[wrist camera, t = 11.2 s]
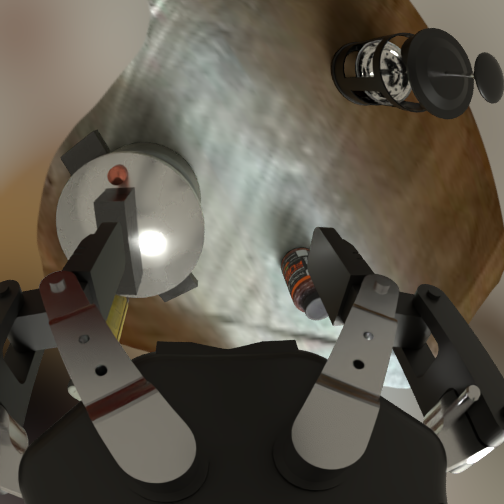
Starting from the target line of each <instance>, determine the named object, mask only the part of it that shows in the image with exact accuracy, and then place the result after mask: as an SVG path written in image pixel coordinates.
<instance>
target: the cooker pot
mask: <svg viewBox="0 0 504 504" xmlns="http://www.w3.org/2000/svg"><path fill="white" fill-rule="evenodd" d="M118 151H135V152H141V153H145V154H149V155H152V156H155V157H157V158H159V159H161V160H163V161H165V162H166V163H168V164H170V165H171V166H173V167H174V168H175V169H176V170H177V171H179V172H180V173H181V174H182V175H183V176H184V178H185V179H186V180H187V181H188V182H189V184H190V185H191V187H192V188H193V189H194V191H195V193H196V195H197V197H198V199H199V202H200V205H201V193H200V188H199V184H198V181H197V178H196V176H195V174H194V172H193V170H192V169H191V167H190V166H189V164H188V163H187V162H186V161H185V160H184V159H183V158H182V157H181V156H180V155H179V154H177V153H176V152H174V151H173V150H171V149H169V148H167V147H165V146H162V145H159V144H154V143H146V142H140V143H132V144H129V145H125V146H123V147H120V148H118V149H117V150H115V151H113V152H118ZM108 153H110V150H109V148H108V147H107V145H106V143H105V142H104V140H103V138H102V137H101V135H100V133H99V132H98V130H95V131H93V132H92V133H90V134H89V135H88V136H86V137H85V138H84V139H83V140H81V141H80V142H79V143H78V144H76V145H75V146H74V147H73V148H71V149H70V150H69V151H68V152H67V153H65V154H64V155H63V156H62V157H61V160H62V161H63V163H64V165H65V166H66V168H67V169H68V171H69V173H70V174H71V176H72V175H73V174H74V173H75V172H76V171H77V170H79V169H80V168H81V167H82V166H84V165H85V164H87V163H88V162H90V161H91V160H93V159H95V158H97V157H99V156H101V155H104V154H108ZM196 287H198V281H197V279H196V278H195V277H194V275H193V274H192V273H190V274H189V275H188V276H187V277H186V278H185V279H184V280H183V281H182V282H181V283H180V284H178V285H177V286H175V287H174V288H172V289H170V290H168V291H166V292H164V293H161V294H158V295H159V296H160V297H161V298H162V299H163V301H164V302H167V301H169V300H171V299H173V298H175V297H177V296H179V295H181V294H183V293H185V292H187V291H189V290H191V289H194V288H196Z"/></svg>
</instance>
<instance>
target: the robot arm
mask: <svg viewBox="0 0 504 504" xmlns="http://www.w3.org/2000/svg"><path fill="white" fill-rule="evenodd" d="M307 269H308V273H309V275H310V277H311V280H312V282H313V284H314V286H315V288H316V290H317V292H318V294H319V296H320V299H321V301H322V303H323V305H324V307H325V309H326V312H327V314H328V316H329V318H330V320H331V323H332V325H333V326H338V325H344V326H343V329H342V331H341V333H340V335H339V337H338V339H337V342H336V344H335V346H334V348H333V350H332V352H331V354H330V356H329V358H328V359H326V358H324V357H322V356H319V355H317V354H314V353H311V352H308V351H303V350H298V347H297V344H296V341H295V340H283V341H262V342H258V343H254V344H250V345H246V346H241V347H237V348H233V349H222V348H217V347H212V346H207V345H202V344H197V343H192V342H161V341H157V346H156V352H151V353H148V354H144V355H141V356H139V357H136V358H134V359H132V360H131V359H130V358H129V356H128V355H127V354H126V352H125V351H124V349H123V348H122V346H121V345H120V343H119V342H118V340H117V339H116V337H115V336H114V334H113V333H112V331H111V329H110V328H109V326H108V325H107V323H106V321H107V318H108V315H109V312H110V309H111V306H112V303H113V300H114V297H115V294H116V292H117V289H118V286H119V283H120V281H121V278H122V275H123V273H124V270H125V251H124V243H123V235H122V227H121V224H120V222H102V223H101V225H100V226H99V227H98V229H97V230H96V232H95V233H94V234H90V235H88V236H87V237H85V238H84V239H83V240H82V241H81V242H80V244H79V245H78V246H77V249H75V251H74V252H73V254H72V256H71V257H70V259H69V260H68V262H67V263H66V265H65V266H64V268H63V270H62V271H57V272H53V273H51V274H49V275H47V276H46V277H45V278H44V279H43V280H42V281H41V283H40V285H39V289H35V290H29V291H23V292H22V291H21V288H20V285H19V283H18V282H17V281H14V280H6V281H3V282H0V495H3V494H6V493H11V494H13V495H16V496H19V497H21V498H23V500H24V503H25V504H447V497H446V473H447V472H448V471H449V472H451V473H460V472H462V471H464V470H465V469H467V468H468V467H470V466H471V465H473V464H474V463H476V462H477V461H479V460H480V459H482V458H483V457H484V456H486V455H487V454H488V453H490V452H491V451H492V450H494V449H495V448H496V447H498V446H499V445H500V444H501V443H503V442H504V378H503V377H502V375H501V373H500V372H499V370H498V368H497V367H496V365H495V364H494V362H493V360H492V359H491V358H490V356H489V354H488V353H487V351H486V350H485V348H484V347H483V346H482V344H481V342H480V341H479V339H478V338H477V336H476V335H475V334H474V332H473V331H472V329H471V328H470V327H469V325H468V324H467V322H466V321H465V320H464V318H463V317H462V316H461V314H460V313H459V311H458V310H457V309H456V308H455V306H454V305H453V304H452V302H451V301H450V300H449V298H448V297H447V296H446V295H445V293H444V292H443V291H441V290H440V289H438V288H437V287H435V286H432V285H428V284H422V285H420V286H419V287H418V289H417V291H416V293H415V295H414V294H408V293H403V292H399V288H398V286H397V284H396V283H395V282H394V281H392V280H391V279H389V278H388V277H385V276H383V275H379V274H374V272H373V271H372V270H371V268H370V267H369V266H368V264H367V263H366V262H365V260H364V259H363V258H362V256H361V255H360V254H358V251H357V250H356V249H355V247H354V246H353V245H352V244H350V243H349V242H347V241H346V240H344V239H342V238H341V237H340V235H339V234H338V233H337V232H336V230H335V229H334V228H326V227H316V228H315V230H314V232H313V237H312V241H311V246H310V251H309V255H308V260H307ZM431 333H432V335H433V336H434V338H435V340H436V341H437V343H438V347H439V351H438V355H437V357H436V358H435V357H434V356H433V354H432V352H431V350H430V349H429V347H428V345H427V343H426V341H427V340H428V338H429V336H430V335H431ZM7 337H8V339H9V341H10V345H9V347H8V349H7V352H6V354H5V357H4V359H3V354H2V349H3V345H4V343H5V341H6V338H7ZM55 347H58V349H59V352H60V354H61V357H62V359H63V361H64V364H65V366H66V368H67V371H68V373H69V375H70V377H71V379H72V382H73V384H74V386H75V388H76V390H77V392H78V394H79V396H80V398H81V401H80V402H79V403H78V404H77V405H76V406H74V407H73V408H72V409H71V410H70V411H69V412H67V413H66V414H65V415H64V416H63V417H62V418H61V419H59V420H58V421H57V422H56V423H55V424H54V425H52V426H51V427H50V428H49V429H48V430H47V431H45V432H44V433H43V434H42V435H41V436H40V437H38V439H36V440H35V441H34V442H33V443H32V444H31V445H30V446H29V447H28V437H27V434H26V432H25V430H24V428H23V424H24V419H25V415H26V411H27V407H28V403H29V399H30V395H31V391H32V388H33V385H34V381H35V378H36V374H37V371H38V368H39V365H40V362H41V359H42V356H43V353H44V350H45V349H48V348H55ZM392 349H393V351H394V353H395V355H396V357H397V359H398V361H399V363H400V365H401V367H402V369H403V372H404V374H405V376H406V378H407V380H408V382H409V384H410V387H411V389H412V391H413V393H414V396H415V398H416V400H417V402H418V405H419V407H420V409H421V411H422V414H423V416H424V421H423V423H421V422H420V421H418V420H417V419H415V418H414V417H412V416H411V415H409V414H407V413H406V412H404V411H403V410H401V409H400V408H398V407H397V406H395V405H394V404H392V403H391V402H389V401H388V400H386V399H385V398H383V397H382V396H380V393H381V390H382V387H383V383H384V379H385V376H386V372H387V368H388V364H389V360H390V356H391V352H392Z"/></svg>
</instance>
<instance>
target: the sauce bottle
mask: <svg viewBox="0 0 504 504" xmlns="http://www.w3.org/2000/svg"><path fill="white" fill-rule="evenodd" d="M128 301H129V297H124V296H119V295H115V297H114V300H113V303H112V306H111V309H110V312H109V315H108V318H107V321H106V323H107V325H108V326H109V328H110V329H111V331H112V333H113V334H114V336H115V337H116V339H117V340H118V342H119V339H120V335H121V331H122V327H123V323H124V320H125V316H126V312H127V308H128ZM68 392H69V393H70V395H71V396H73V397H74V398H76V399H78V400H79V401H81V398H80V396H79V394H78V392H77V390H76V388H75V386H74V384H73V382H72V379H71V380H70V381H69V384H68Z"/></svg>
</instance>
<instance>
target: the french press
mask: <svg viewBox="0 0 504 504" xmlns="http://www.w3.org/2000/svg"><path fill="white" fill-rule="evenodd" d="M395 36H405V37H408V39H407V40H406V41H405V42H404V44H403V45H402V48H401V49H400V48H399V47H397V46H396V45H394V44H392V43H390V42H388V41H389V40H390V39H391V38H393V37H395ZM353 51H360V52H359V53H358V56H357V58H356V63H355V73H356V77H352V78H345V73H344V63H345V59H346V56H347V55H348V54H349V53H351V52H353ZM331 74H332V78H333V81H334V84H335V86H336V88H337V89H338V91H339V92H340V93H341V94H342V95H343V96H344V97H345V98H346V99H347V100H349V101H351V102H353V103H355V104H358V105H365V106H367V105H385V106H392V107H397V108H399V109H402V110H406V111H411V112H424V111H428V112H429V113H431V114H432V115H434V116H436V117H439V118H443V119H453V118H456V117H458V116H460V115H461V114H463V113H464V111H465V110H466V109H467V107H468V106H469V104H470V102H471V98H472V95H473V89H474V79H475V81H476V84H477V87H478V90H479V92H480V94H481V95H482V97H483V98H484V99H485V100H486V101H487V102H489V103H497V102H498V101H499V100H500V99H501V97H502V94H503V91H504V79H503V73H502V70H501V68H500V66H499V64H498V62H497V60H496V59H495V58H494V57H493V56H492V55H490V54H489V53H485V52H484V53H481V54H479V55H478V57H477V59H476V61H475V66H474V74H473V71H472V68H471V64H470V61H469V59H468V56H467V54H466V53H465V51H464V49H463V48H462V46H461V45H460V44H459V42H458V41H457V40H456V39H455V38H454V37H453V36H451V35H450V34H448V33H447V32H445V31H443V30H440V29H436V28H428V29H423V30H421V31H419V32H418V33H416V34H415V35H414V34H410V33H398V34H393V35H388V36H383V37H379V38H374V39H370V40H366V41H362V42H353V43H349V44H346V45H344V46H342V47H341V48H340V49H339V50H338V51H337V52H336V54H335V55H334V58H333V60H332V65H331ZM473 78H474V79H473ZM411 89H412V90H413V93H414V95H415V96H416V98H417V99H418V101H419V103H414V102H407V101H404V100H405V99H406V98H407V97H408V95H409V93H410V92H411ZM352 90H353V91H364V92H365V93H366V94H367V95H368V96H369V97H363V96H359V95H357V94H355V93H354V92H353V91H352Z"/></svg>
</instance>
